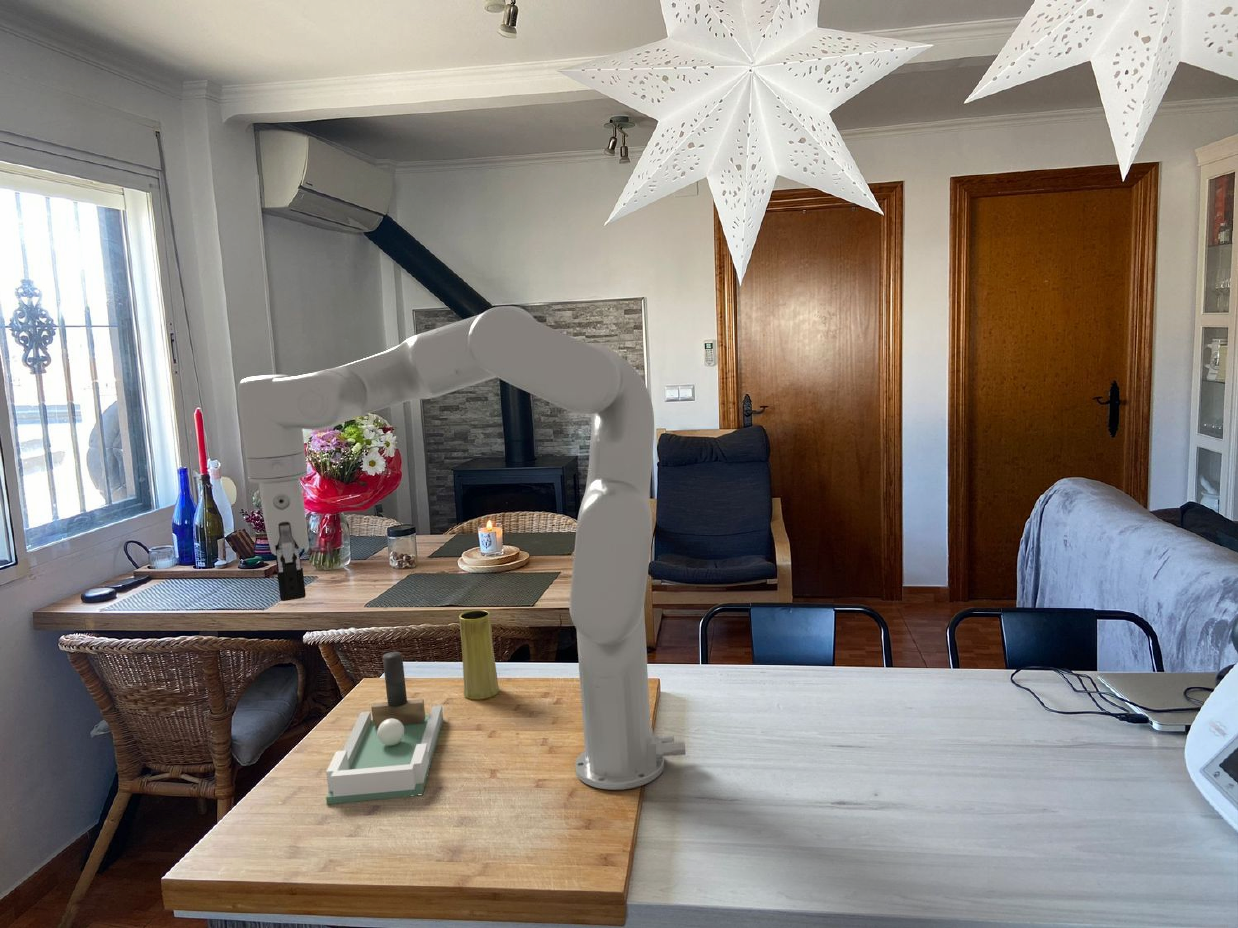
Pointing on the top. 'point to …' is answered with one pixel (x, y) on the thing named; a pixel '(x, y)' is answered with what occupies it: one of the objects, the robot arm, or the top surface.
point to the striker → (397, 695)
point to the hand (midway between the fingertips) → (291, 589)
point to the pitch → (383, 761)
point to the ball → (390, 732)
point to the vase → (478, 655)
